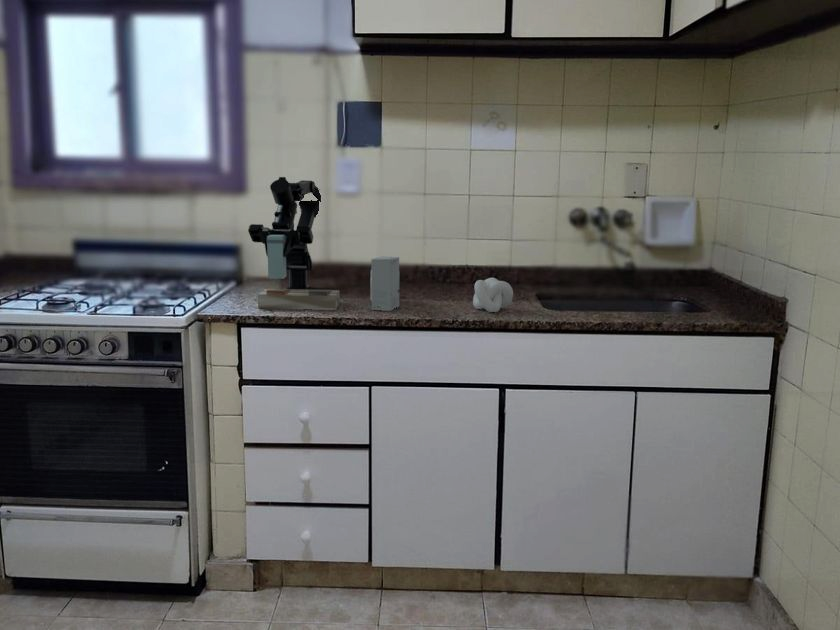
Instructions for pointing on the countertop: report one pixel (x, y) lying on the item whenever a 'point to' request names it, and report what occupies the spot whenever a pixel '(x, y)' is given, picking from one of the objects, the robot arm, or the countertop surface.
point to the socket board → (299, 299)
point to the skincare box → (385, 283)
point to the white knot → (492, 294)
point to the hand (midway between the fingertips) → (275, 256)
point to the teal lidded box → (276, 257)
